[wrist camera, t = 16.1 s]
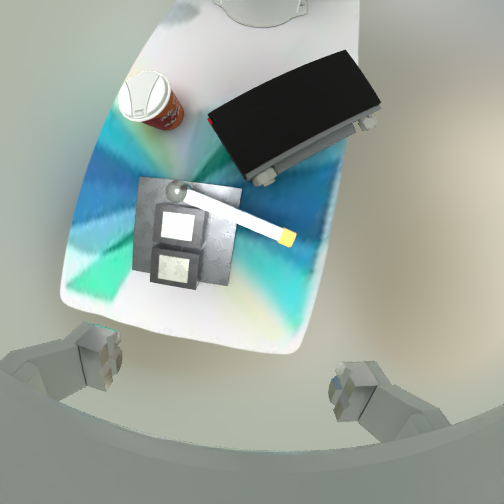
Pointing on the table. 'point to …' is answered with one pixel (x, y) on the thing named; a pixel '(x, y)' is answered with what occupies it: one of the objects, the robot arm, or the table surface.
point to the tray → (183, 235)
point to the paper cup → (150, 101)
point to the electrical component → (295, 116)
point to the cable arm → (228, 212)
